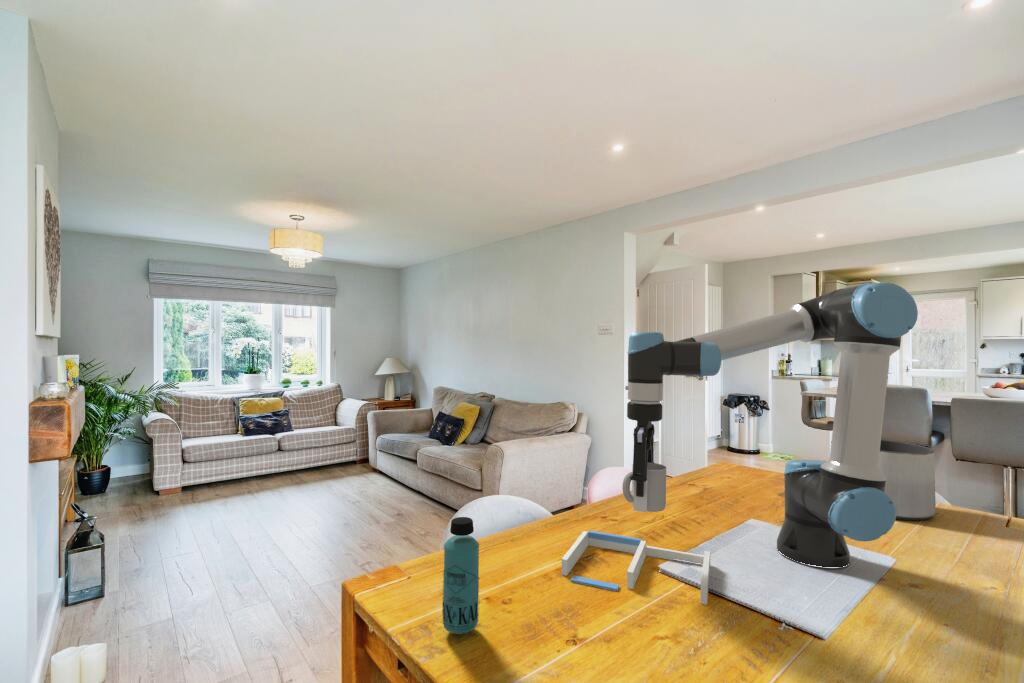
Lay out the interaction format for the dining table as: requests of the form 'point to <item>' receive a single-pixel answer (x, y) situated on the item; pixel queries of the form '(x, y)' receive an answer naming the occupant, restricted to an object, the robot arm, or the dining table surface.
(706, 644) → the dining table surface
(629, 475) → the cup
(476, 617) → the beverage bottle
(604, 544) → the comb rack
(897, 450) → the planter
